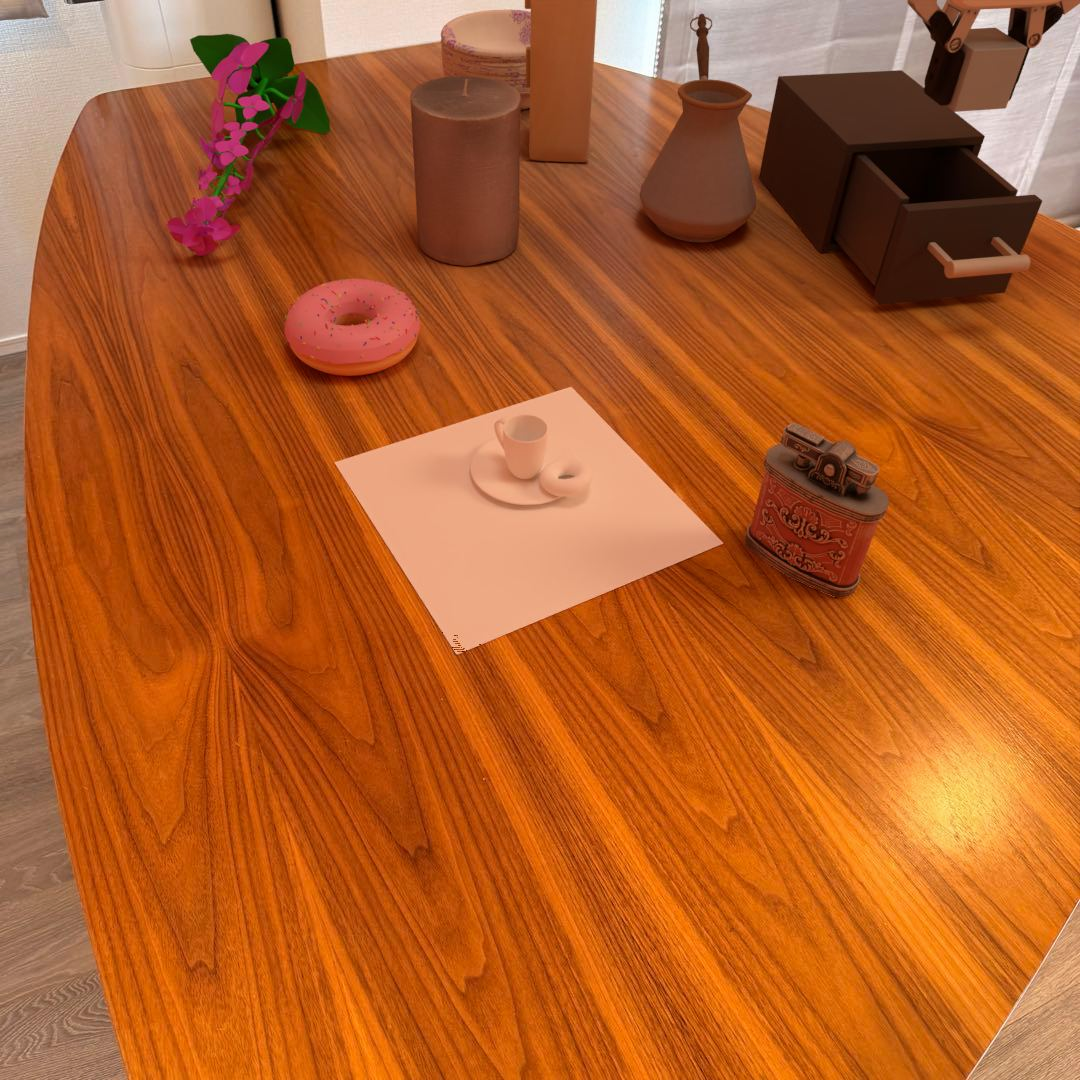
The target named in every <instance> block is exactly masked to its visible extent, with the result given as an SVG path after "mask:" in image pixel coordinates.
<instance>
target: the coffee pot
mask: <svg viewBox="0 0 1080 1080" xmlns="http://www.w3.org/2000/svg"><path fill="white" fill-rule="evenodd" d="M696 20H697V27H698V28H697V29H695V28H694V27H692V23H693V22H694V21H696ZM707 20H708V21H709V22H710V26H709V27H708V28H707ZM689 27H690V30H692V31H693V32H695V35H696V37H697V44H696V58H697V68H698V69H697V71H698V79H695V80H690V81H687V82H684V83H683V84H681V85H680V86H679V87H678V89H677V95H678V97H679V99H680V100H681V103H682V104H681V106H682V113H681V114H680V116H679V118H678V119H677V122H676V123H675V125H674V126H673V129H672V130H671V132H670V133H669V135H668V137H667V139H666V141H665V143H664V145H663V147H662V148H661V150H660V152H659V154H658V155H657V157H656V158H655V160H654V162H653V164H652V166H651V167H650V169H649V170H648V171H649V172H648V173H647V175H646V177H645V178H644V180H643V182H642V184H641V185H640V190H639V195H638V196H639V200H640V202H641V205H642V208H643V212H644V213H645V214H646V216H647V217H648V218H649V219H650V220H651V221H652V222H653V223H654V224H655V225H656V227H657V228H658V230H659V231H661V232H662V233H663V234H665V235H666V236H668V237H671V238H672V239H673V238H674V239H676V240H680V241H684V242H689V243H690V242H691V243H710V242H711V243H712V242H716V241H720V240H723V239H725V238H726V237H728V236H729V235H730V234H731V233H733V232H735V231H736V230H737V229H739V228H741V227H742V226H743V225H745V224H746V223H747V222H748V220H749V219H750V217H751V216H752V215H753V213H754V211H755V210H756V208H757V194H756V189H755V185H754V181H753V177H752V174H751V168H750V165H749V160H748V156H747V151H746V147H745V143H744V139H743V134H742V130H741V126H740V122H739V118H738V117H739V116H740V114H741V113H742V111H743V109H744V108H745V107H746V105H747V103H749V101H751V99H752V97H753V94H752V93H751V92H750V91H749V90H747V89H746V88H744V87H742V86H740V85H738V84H736V83H733V82H730V81H725V80H720V79H709V71H710V45H709V41H708V35H709V33H710V32H709V31H710V30H711V29H712V27H713V20H712V19H711V18H710V17H709V16H708V17H707V16H705V14H704V13H700V14H699V15H698V16H695V17H693V18H691V21H690V22H689Z"/></svg>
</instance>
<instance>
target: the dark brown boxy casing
mask: <svg viewBox="0 0 1080 1080" xmlns="http://www.w3.org/2000/svg"><path fill="white" fill-rule="evenodd" d="M774 92H775V93H774V96H773V102H772V107H771V113H770V118H769V123H768V127H767V134H766V138H765V139H766V140H765V143H764V149H763V154H762V159H761V164H760V168H759V175H758V179H759V180H760V181H761V183H762V184H763V185H764V186H765V187H766V189H767V190H768V191H769V192H770V194H771V195H772V196H773V197H774V199H776V201H777V202H778V203H779V205H780V206H781V207H782V208H783V209H784V211H785V212H786V214H788V216H789V217H790V218H791V219H792V221H793V222H794V223H795V224H796V225H797V226H798V228H799V229H800V230H801V231H802V233H803V234H804V235H805V237H807V239H808V240H809V241H810V242H811V244H812V245H813V247H815V249H816V250H817V251H818V252H819V253H820V254H825V253H838V252H845V251H844V250H843V249H842V248H841V246H840V245H839V244H838V243H837V242H836V241H835V239H834V238H833V237H832V233H833V229H834V225H835V221H836V218H837V214H838V210H839V206H840V202H841V198H842V194H843V191H844V187H845V183H846V179H847V175H848V171H849V168H850V164H851V160H852V156H853V153H854V152H870V151H886V150H901V149H917V148H933V147H948V146H965V147H966V148H967V149H969V150H970V151H971V152H972V153H974V154H975V155H976V156H977V157H978V156H979V154H980V152H981V149H982V144H983V143H984V140H985V137H986V135H984V134H983V133H982V132H980V130H978V129H977V128H976V127H974V126H973V125H971V124H970V123H969V122H968V121H966V120H965V118H963V117H962V116H960V115H959V114H958V113H957V112H954V111H952V110H951V109H950V108H948V107H947V106H946V105H944V106H940V105H939V104H938V103H936V102H935V101H934V100H933V99H931V98H930V97H929V96H927V95H926V94H925V92H924V86H922V85H921V84H920V83H918V82H917V81H916V80H915V79H913V78H912V77H911V76H909V74H907V73H905V72H904V71H903V70H901V69H900V70H899V69H898V70H880V71H879V70H877V71H858V72H840V73H839V72H838V73H837V72H836V73H835V72H834V73H817V74H797V75H779V76H777V83H776V87H775V91H774ZM978 158H979V157H978Z"/></svg>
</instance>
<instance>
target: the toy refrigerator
mask: <svg viewBox="0 0 1080 1080" xmlns="http://www.w3.org/2000/svg"><path fill="white" fill-rule="evenodd" d="M524 9H525V10H530V12H531V38H530V47H526V87H527V88H530V108H529V135H528V137H529V138H528V139H529V142H528V147H529V149H528V158H529V160H530V161H537V162H559V163H562V162H563V163H564V162H565V163H588V162H589V152H590V138H591V137H590V135H591V119H592V118H591V117H592V102H593V83H594V68H595V67H594V65H595V64H594V63H595V46H596V29H597V11H598V0H524Z"/></svg>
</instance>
